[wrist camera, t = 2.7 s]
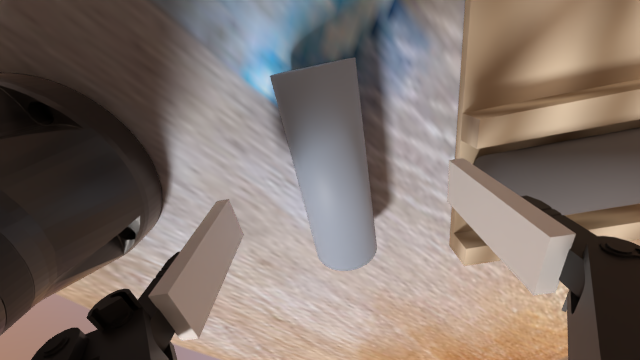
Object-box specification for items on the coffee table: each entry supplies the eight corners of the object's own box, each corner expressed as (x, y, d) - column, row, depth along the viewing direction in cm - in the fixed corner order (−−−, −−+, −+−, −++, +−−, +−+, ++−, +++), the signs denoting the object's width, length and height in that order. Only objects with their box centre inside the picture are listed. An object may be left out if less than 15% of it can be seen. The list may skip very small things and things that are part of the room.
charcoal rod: (503, 239, 17) (529, 187, 14) (465, 191, 21) (479, 141, 17) (724, 205, 16) (808, 139, 13) (641, 161, 20) (689, 102, 16)
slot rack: (449, 245, 23) (464, 265, 21) (471, -98, 13) (506, -133, 10) (625, 217, 22) (661, 236, 20) (813, -184, 12) (938, -245, 9)
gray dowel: (367, 222, 23) (385, 262, 18) (315, 234, 23) (320, 277, 18) (346, 58, 16) (365, 56, 12) (273, 74, 16) (265, 78, 12)
